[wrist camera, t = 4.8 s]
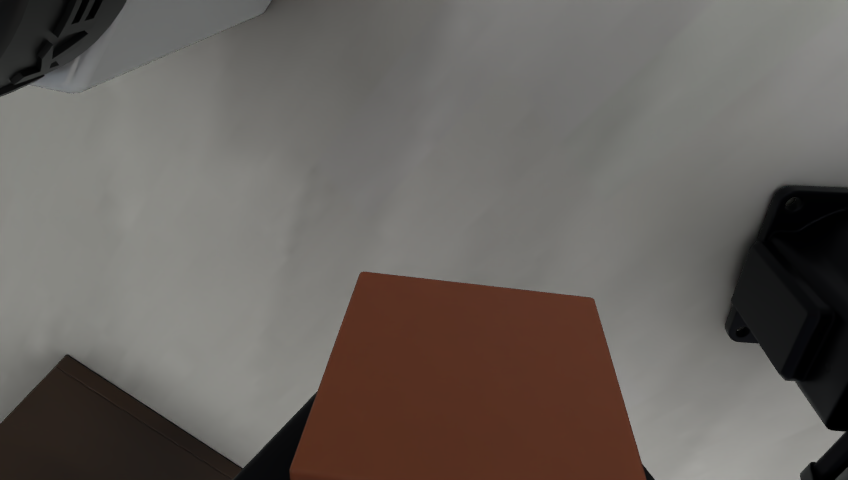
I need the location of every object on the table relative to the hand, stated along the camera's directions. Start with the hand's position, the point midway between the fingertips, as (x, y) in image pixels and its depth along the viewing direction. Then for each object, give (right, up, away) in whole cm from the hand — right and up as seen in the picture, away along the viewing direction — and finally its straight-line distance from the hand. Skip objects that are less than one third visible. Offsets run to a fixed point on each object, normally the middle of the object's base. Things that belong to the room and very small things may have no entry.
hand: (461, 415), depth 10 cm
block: (0, +1, +1) cm, 1 cm away
